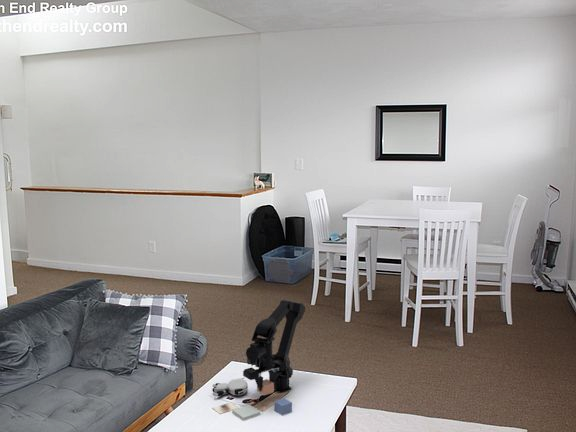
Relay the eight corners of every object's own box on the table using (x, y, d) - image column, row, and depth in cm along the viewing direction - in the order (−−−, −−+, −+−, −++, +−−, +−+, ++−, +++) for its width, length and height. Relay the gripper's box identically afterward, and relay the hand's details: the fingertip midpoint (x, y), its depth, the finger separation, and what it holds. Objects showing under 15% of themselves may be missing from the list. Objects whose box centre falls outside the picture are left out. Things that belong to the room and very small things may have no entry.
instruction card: (231, 402, 237) (231, 401, 236) (239, 407, 232) (239, 407, 232) (212, 408, 231) (212, 407, 231) (219, 414, 226) (219, 413, 226)
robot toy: (213, 403, 238) (249, 397, 241) (212, 392, 238) (248, 387, 240) (212, 390, 250) (246, 385, 253) (211, 380, 250) (245, 375, 252)
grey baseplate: (249, 407, 232) (249, 404, 232) (260, 414, 226) (260, 411, 226) (232, 412, 228) (232, 410, 227) (243, 420, 221) (243, 417, 221)
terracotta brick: (266, 388, 241) (266, 379, 241) (273, 392, 237) (273, 383, 237) (257, 391, 238) (257, 382, 238) (264, 395, 234) (264, 386, 234)
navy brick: (284, 407, 233) (284, 398, 232) (291, 412, 229) (291, 402, 228) (274, 411, 230) (274, 401, 229) (282, 415, 226) (282, 406, 225)
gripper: (272, 342, 248) (272, 377, 250) (235, 352, 236) (235, 388, 238) (287, 350, 239) (287, 386, 241) (250, 360, 228) (250, 397, 230)
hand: (265, 389), depth 238 cm, fingers closed on terracotta brick, 5 cm apart
